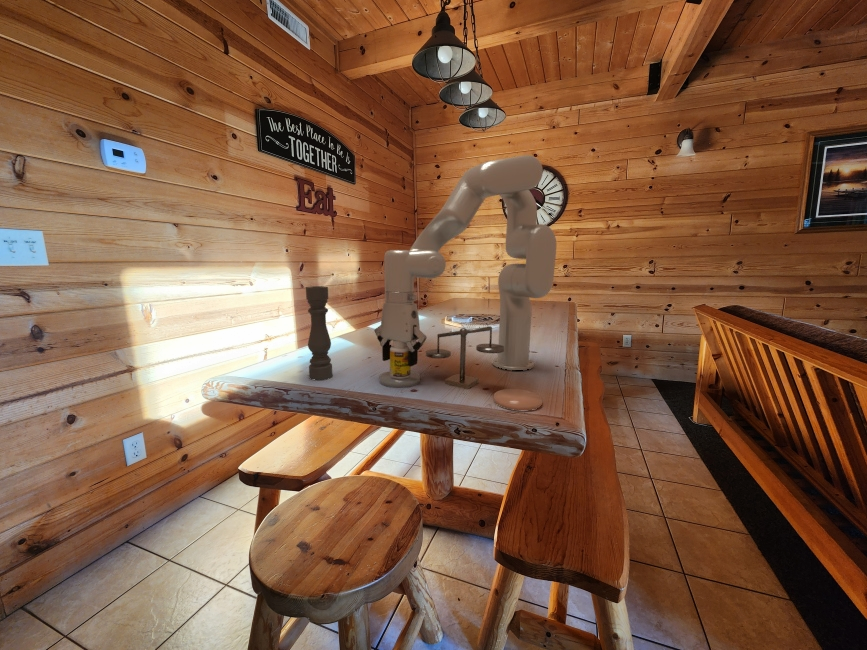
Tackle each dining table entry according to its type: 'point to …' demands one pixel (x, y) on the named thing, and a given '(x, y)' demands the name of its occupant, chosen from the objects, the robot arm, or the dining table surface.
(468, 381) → the balance
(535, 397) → the terracotta dish
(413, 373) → the slate dish
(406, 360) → the supplement bottle
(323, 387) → the dining table surface
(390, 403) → the dining table surface
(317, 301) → the candle holder
